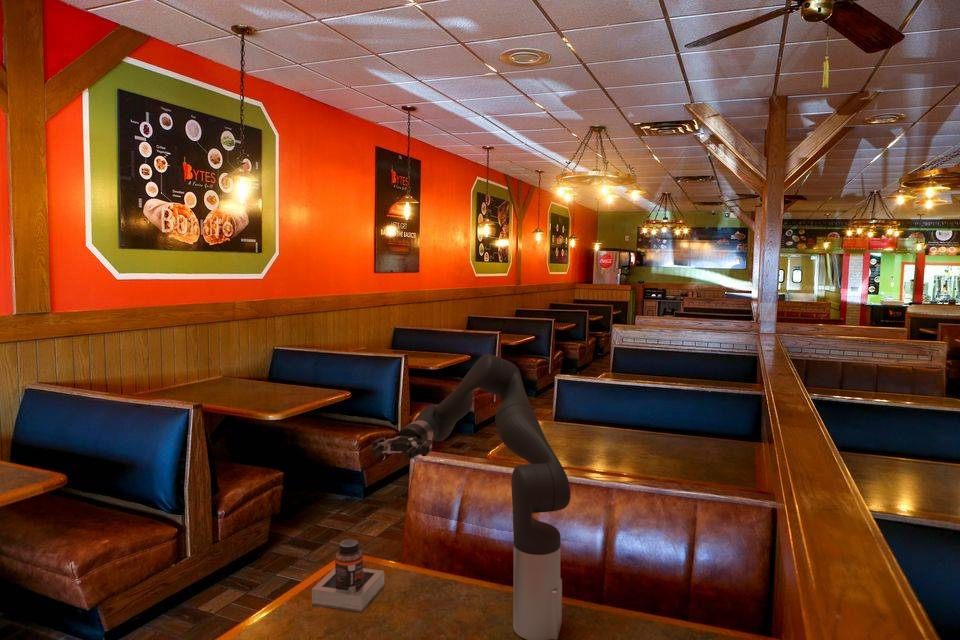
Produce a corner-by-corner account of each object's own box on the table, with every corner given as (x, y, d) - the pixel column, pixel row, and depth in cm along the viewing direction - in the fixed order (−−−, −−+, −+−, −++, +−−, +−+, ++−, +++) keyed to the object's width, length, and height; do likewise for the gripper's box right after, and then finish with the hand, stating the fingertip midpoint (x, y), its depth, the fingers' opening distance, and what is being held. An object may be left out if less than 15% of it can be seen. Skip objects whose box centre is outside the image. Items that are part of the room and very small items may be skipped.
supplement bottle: (359, 600, 136) (358, 549, 135) (332, 599, 137) (331, 548, 136) (366, 585, 142) (365, 537, 141) (340, 585, 142) (338, 536, 141)
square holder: (384, 585, 143) (384, 570, 143) (361, 612, 132) (361, 596, 132) (338, 579, 146) (337, 564, 146) (312, 604, 135) (311, 589, 135)
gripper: (389, 421, 168) (363, 437, 152) (440, 424, 164) (419, 441, 149) (389, 449, 169) (363, 467, 153) (440, 453, 165) (419, 472, 149)
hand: (391, 454), depth 151 cm, fingers open, 8 cm apart
